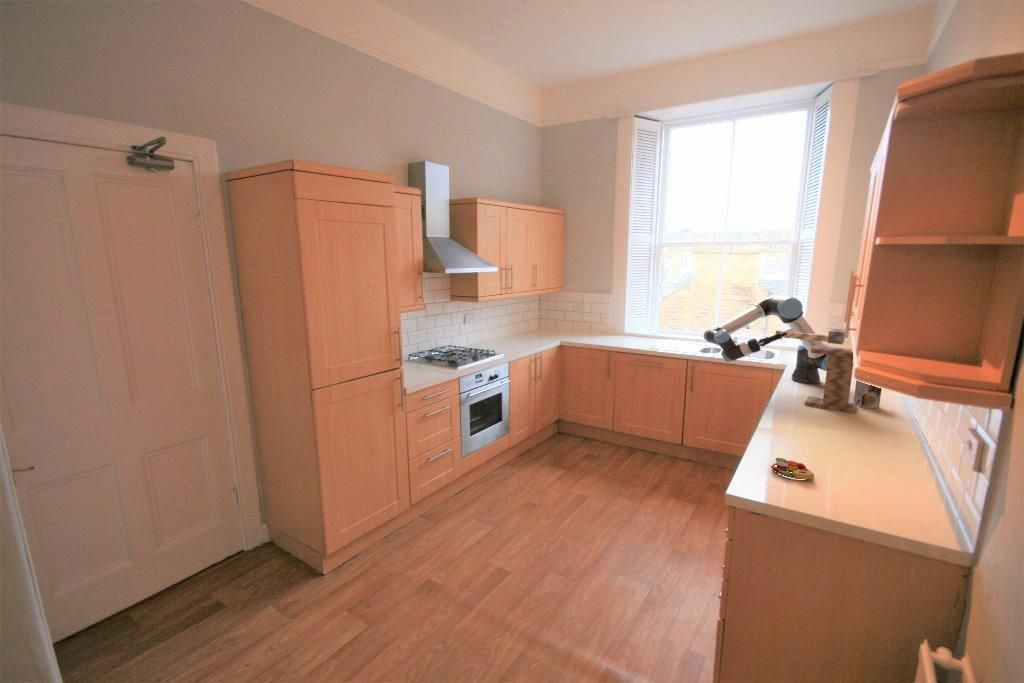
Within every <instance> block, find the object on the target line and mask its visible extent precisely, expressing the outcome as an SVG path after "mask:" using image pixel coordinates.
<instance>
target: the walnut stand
mask: <svg viewBox="0 0 1024 683" xmlns="http://www.w3.org/2000/svg"><path fill="white" fill-rule="evenodd" d="M852 349H853V348H852ZM852 349H851V348H845V347H844V348H843V347H835V346H833V347H832V346H829V347H825V346H814V347H813V348H812V349H811V353H817V354H826V355H829V356H828V364H827V371H826V375H825V381H824V382H825V383H824V391H823V398H822V397H816V396H810V395H808V396H807V398H806V400H805V401H804V406H807V407H814V408H820V409H824V410H826V409H827V410H830V411H837V412H843V413H847V414H855V413H856V410H857V407H858V406H857V404H854V402H853V403H852V402H849V401H850V399H849V398H850V391H851V387H852V386H851V384H852V377H853V371H854V363H853V352H852Z"/></svg>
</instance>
